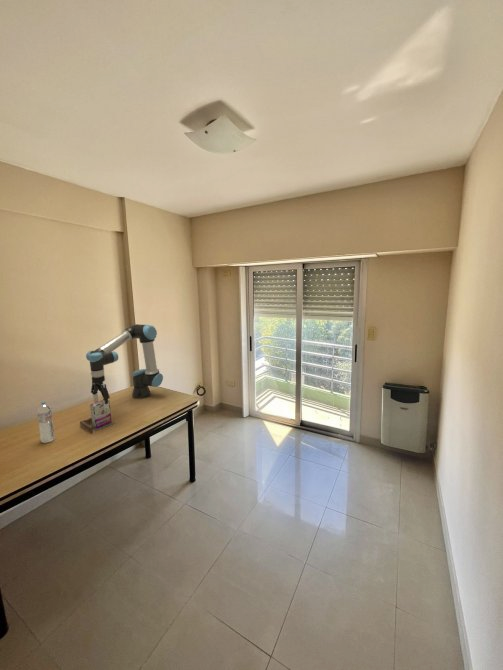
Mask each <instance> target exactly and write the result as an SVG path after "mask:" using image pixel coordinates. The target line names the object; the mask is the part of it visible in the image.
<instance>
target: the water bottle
mask: <svg viewBox="0 0 503 670" xmlns="http://www.w3.org/2000/svg"><path fill="white" fill-rule="evenodd" d="M40 404H41V405H40V406H39V407H38V408H37V409H36V413H37V418H38V428H39V436H40V441H41V443H42V444H47V443H49V444H50V443H51V442H54V440H55V439H56V436H55V429H54V420H53V414H52V407H51V406H50V405H49V404H47V403H46V401H42V402H41V403H40Z"/></svg>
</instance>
